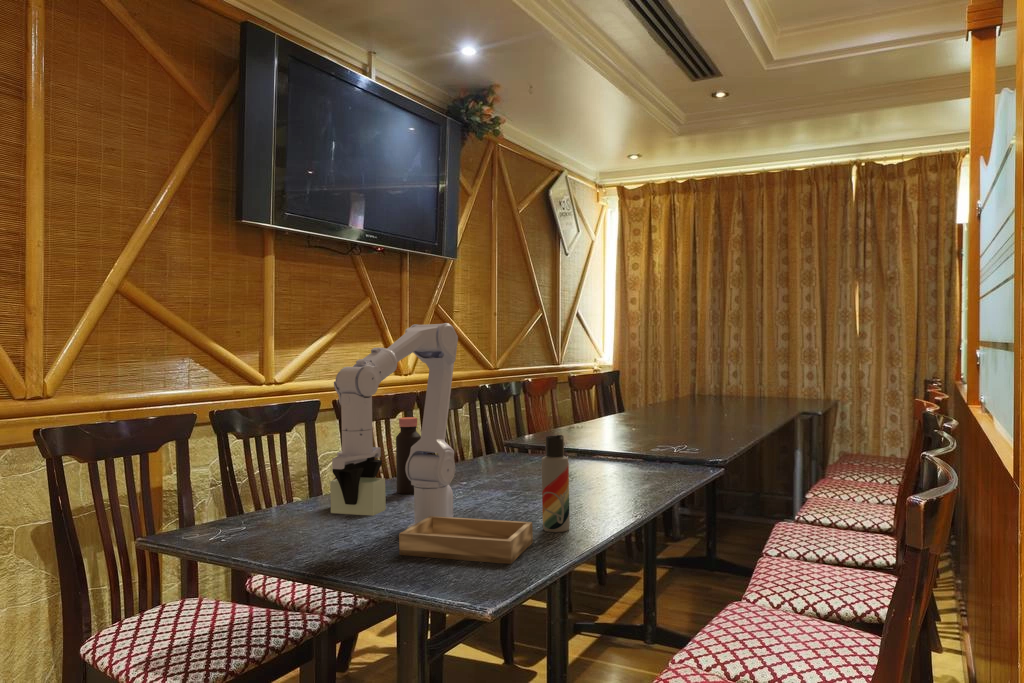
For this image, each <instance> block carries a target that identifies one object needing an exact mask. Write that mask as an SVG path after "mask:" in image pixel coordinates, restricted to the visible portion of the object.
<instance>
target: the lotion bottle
mask: <svg viewBox="0 0 1024 683" xmlns="http://www.w3.org/2000/svg"><path fill="white" fill-rule="evenodd" d="M564 440H565V438H564V435H562V434H556V435H555V434H554V435H548V436H545V456H543V457H542V458H541V499H542V500H541V501H542V502H541V503H542V504H541V505H542V506H541V510H542V512H541V513H542V529H543V530H544V531H545V532H549V533H562V532H563V533H564V532H567V531H569V530H570V523H571V521H570V517H571V516H570V479H569V478H570V474H569V472H570V468H569V467H570V466H569V457H567V456H565V441H564Z"/></svg>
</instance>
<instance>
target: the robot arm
mask: <svg viewBox="0 0 1024 683" xmlns="http://www.w3.org/2000/svg"><path fill="white" fill-rule="evenodd" d="M458 342H459V335H458V334H457V332H456V330H455V328H454V326H453V325H452V324H450V323H449V322H448V323H447V322H444V323H435V324H433V323H432V324H417V323H415V324H412V325H411V326H410V327H407V328H405V331H404V334H402V335H401V336H400V337H399V338H398V339H397V340H395V341H394V342H393V343H392V344H390V345H389V346H388V347H387V348H386V347H373V348H371V349H370V352H371V353H369V354H368V355H366V356H364V357H363V358H359V359H357V360H356V362H355V363H354V364H353V366H345V367H342V368H341V369H339V371H338V373H337V374H336V376H335V381H333V386H334V390H335V392H336V394H337V396H338V403H339V405H340V407H341V410H340V411H341V451H339V452H337V453H336V456H335V457H332V458H331V462H332V463H331V467H332V468H331V469H332V471H331V472H332V473H333V476H335V477H336V478H337V480H338V482H339V485H340V487H341V490H342V494H343V498H344V501H345V504H349V505H355V504H357V499H358V488H359V481H360V477H367V478H377V475H378V472H379V471H380V468H381V467H382V465H383V464H382V463H383V462H382V461H383V460H382V459H378V458H381V456H382V454H381V447H378V446H377V447H375V446H374V445H373V444H374V442H373V440H374V439H373V438H374V437H373V395H376V393H377V391H378V389H379V386H380V384H381V383H382V382H383V380H386V379H387V378H388V377H390V375H392V374H393V373H394V372H396V370H397V367H398V362H400V361H402V360H403V359H405V358H406V357H408V356H410V355H411V354H414V355H415V356H416V357H417V358H418V359H419V360H420V361H421V362H422V363H424V364H426V367H427V368H428V376H427V385H426V392H425V401H424V408H423V410H424V411H423V416H422V417H423V418H422V426H421V432H420V436H421V439H420V440H419V441H418V442H416V443H415V444H414V445H413V446H412V447H411V450H410V455H409V458H408V460H407V462H406V467H405V470H406V475H407V477H408V479H409V480H410V481H411V485H414V494H413V500H414V501H413V503H414V504H413V507H414V510H413V511H414V514H413V516H414V522H413V523H411V524H410V525H407V528H406V529H408V528H410V527H412V526H413V525H415V524H417V523H419V522H420V521H422V520H424V519H426V518H428V517H429V516H439V517H454V492H453V490H452V487H451V486H450V485H451V482H452V480H454V478H455V477H454V476H455V474H456V464H455V450H454V449H453V448H452V447H451V445H449V444H448V442H446V436H447V428H448V427H447V425H448V419H449V418H448V417H449V410H450V402H451V401H450V400H451V393H452V392H451V391H452V382H453V375H454V366H455V362H456V359H457V350H458ZM430 453H433V454H430ZM376 458H377V459H376ZM335 477H334V478H335Z"/></svg>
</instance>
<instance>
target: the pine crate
mask: <svg viewBox="0 0 1024 683" xmlns="http://www.w3.org/2000/svg"><path fill="white" fill-rule="evenodd" d="M533 527H534V526H533V521H520V520H519V521H516V520H501V519H484V518H470V517H469V518H468V517H454V516H453V517H439V516H429V517H428V518H426V519H424V520H422V521H420V522H419V523H417V524H415V525H413V526H412V527H410V528H406V529H405V530H403V531H401V532H399V534H398V541H399V542H398V543H399V546H398V547H399V555H400V556H408V557H422V558H433V559H435V558H436V559H444V560H445V559H447V560H456V561H457V560H458V561H471V562H480V563H481V562H482V563H484V562H485V563H496V564H506V565H507V564H509V565H512V564H513V563H514V562H515V561H516V560H517V559H518V557H520V556H521V555H522V554H523V553H524V552H525V551H526V550H527V549H528V548H529V547H530V546H531V545H532V544H533V543H534V540H533V539H534V535H533V534H534V529H533Z"/></svg>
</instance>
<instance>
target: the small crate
mask: <svg viewBox="0 0 1024 683" xmlns="http://www.w3.org/2000/svg"><path fill="white" fill-rule="evenodd" d="M329 484H330V485H329V486H330V488H329V489H330V514H341V515H357V516H375V515H378V514H380V513H382V512H384V511H386V510H387V509H386V508H387V507H386V506H387V505H386V503H387V502H386V501H387V500H386V498H387V497H386V477H376V478H367V477H360V481H359V488H358V499H357V504H355V505H349V504H345V501H344V498H343V494H342V490H341V487H340V485H339V482H338V480H337V479H335V480H334V479H333V480H330V481H329Z"/></svg>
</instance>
